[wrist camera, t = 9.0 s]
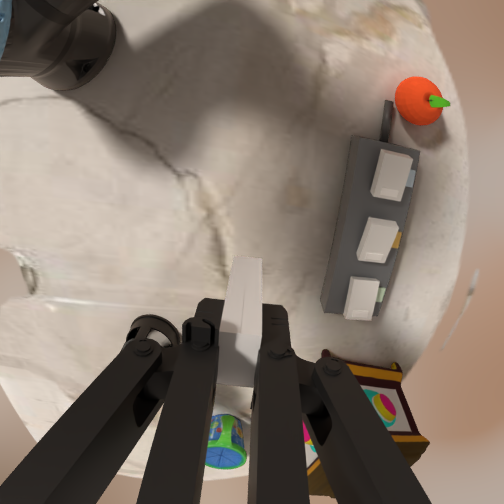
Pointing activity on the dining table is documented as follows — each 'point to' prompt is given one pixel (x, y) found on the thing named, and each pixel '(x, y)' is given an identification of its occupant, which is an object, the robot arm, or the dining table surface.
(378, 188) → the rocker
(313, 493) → the decorative lantern
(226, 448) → the snack cup
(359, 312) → the rocker
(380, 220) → the plate
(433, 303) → the dining table surface
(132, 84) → the dining table surface
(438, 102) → the clementine
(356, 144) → the power strip
